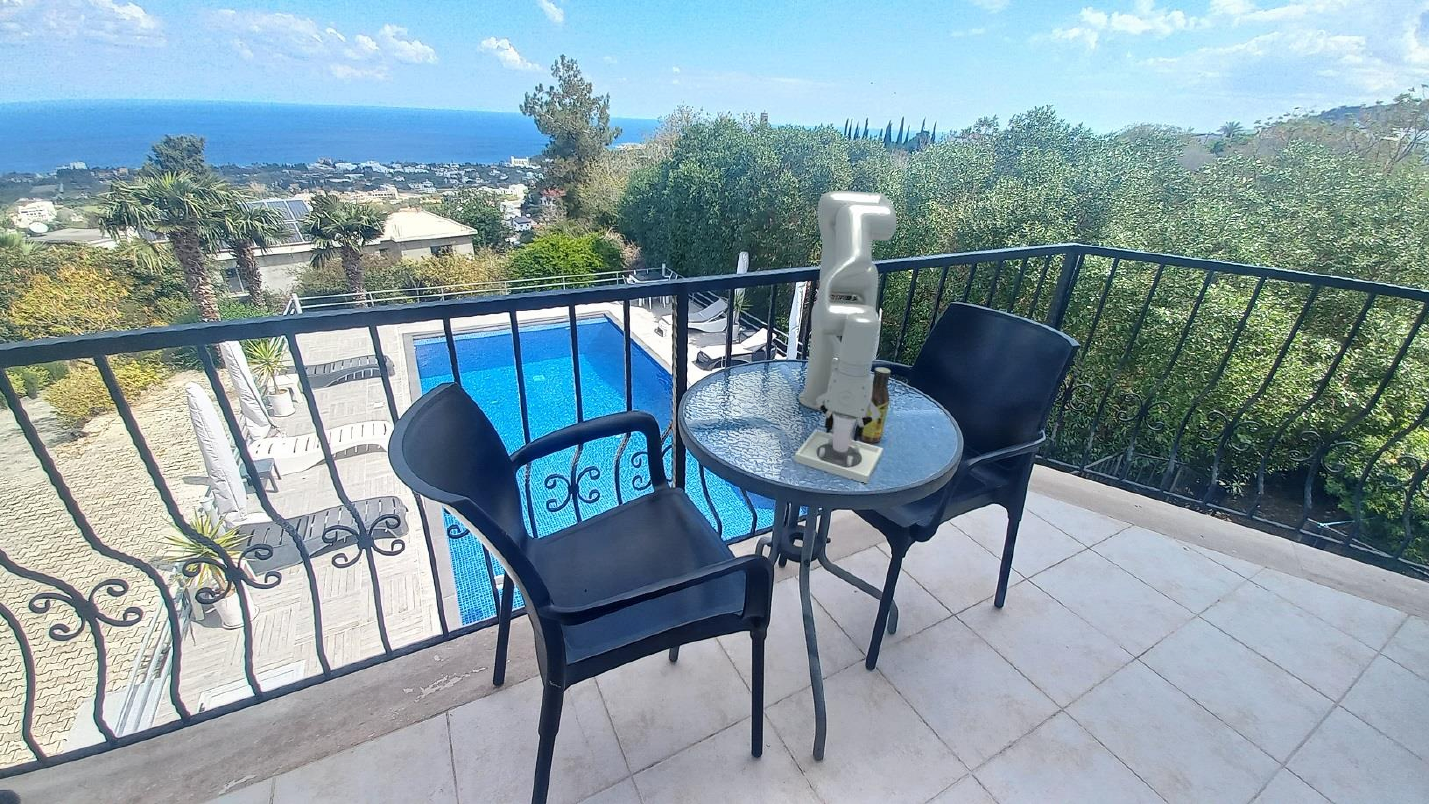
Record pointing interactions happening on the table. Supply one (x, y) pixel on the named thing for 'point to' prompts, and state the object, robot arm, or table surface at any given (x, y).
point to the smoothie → (842, 431)
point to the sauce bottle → (878, 405)
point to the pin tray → (839, 457)
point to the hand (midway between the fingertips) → (842, 434)
